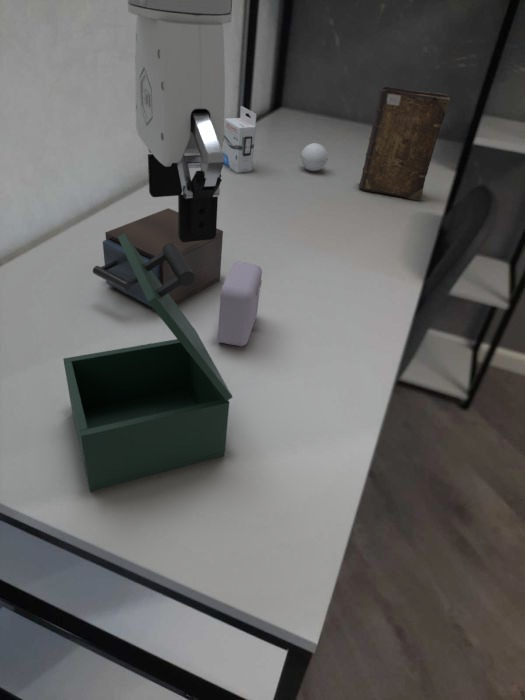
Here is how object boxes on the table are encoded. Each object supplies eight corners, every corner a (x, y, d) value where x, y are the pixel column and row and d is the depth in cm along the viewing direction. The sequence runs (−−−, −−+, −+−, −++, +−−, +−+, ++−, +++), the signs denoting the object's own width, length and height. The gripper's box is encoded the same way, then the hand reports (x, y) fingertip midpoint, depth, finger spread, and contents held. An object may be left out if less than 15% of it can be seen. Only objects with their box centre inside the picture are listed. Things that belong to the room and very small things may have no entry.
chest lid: (148, 301, 45) (193, 273, 45) (117, 237, 53) (155, 213, 54) (226, 401, 56) (262, 378, 57) (191, 334, 65) (221, 315, 65)
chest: (89, 491, 56) (80, 436, 51) (72, 412, 65) (63, 358, 60) (224, 455, 62) (229, 402, 57) (192, 387, 71) (193, 336, 66)
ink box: (221, 162, 144) (224, 105, 135) (237, 161, 146) (241, 105, 138) (236, 173, 139) (241, 114, 130) (252, 171, 141) (258, 114, 132)
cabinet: (163, 312, 84) (163, 259, 78) (109, 283, 89) (105, 232, 83) (220, 279, 94) (223, 231, 88) (168, 255, 99) (168, 208, 93)
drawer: (136, 320, 80) (133, 276, 75) (86, 292, 85) (81, 249, 80) (209, 279, 92) (211, 238, 88) (162, 256, 97) (161, 217, 92)
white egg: (301, 164, 150) (305, 137, 146) (326, 169, 149) (331, 142, 145) (294, 174, 143) (298, 147, 138) (320, 179, 142) (325, 152, 137)
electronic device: (247, 351, 78) (253, 295, 72) (217, 345, 79) (220, 289, 73) (258, 315, 86) (265, 262, 80) (231, 310, 87) (235, 257, 81)
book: (357, 190, 138) (380, 87, 123) (359, 181, 144) (382, 82, 129) (420, 202, 136) (451, 99, 121) (420, 193, 141) (450, 93, 126)
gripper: (104, -24, 42) (119, 183, 53) (161, 4, 30) (166, 265, 41) (193, -16, 45) (190, 179, 55) (278, 12, 33) (254, 255, 43)
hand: (180, 215), depth 48 cm, fingers open, 9 cm apart
